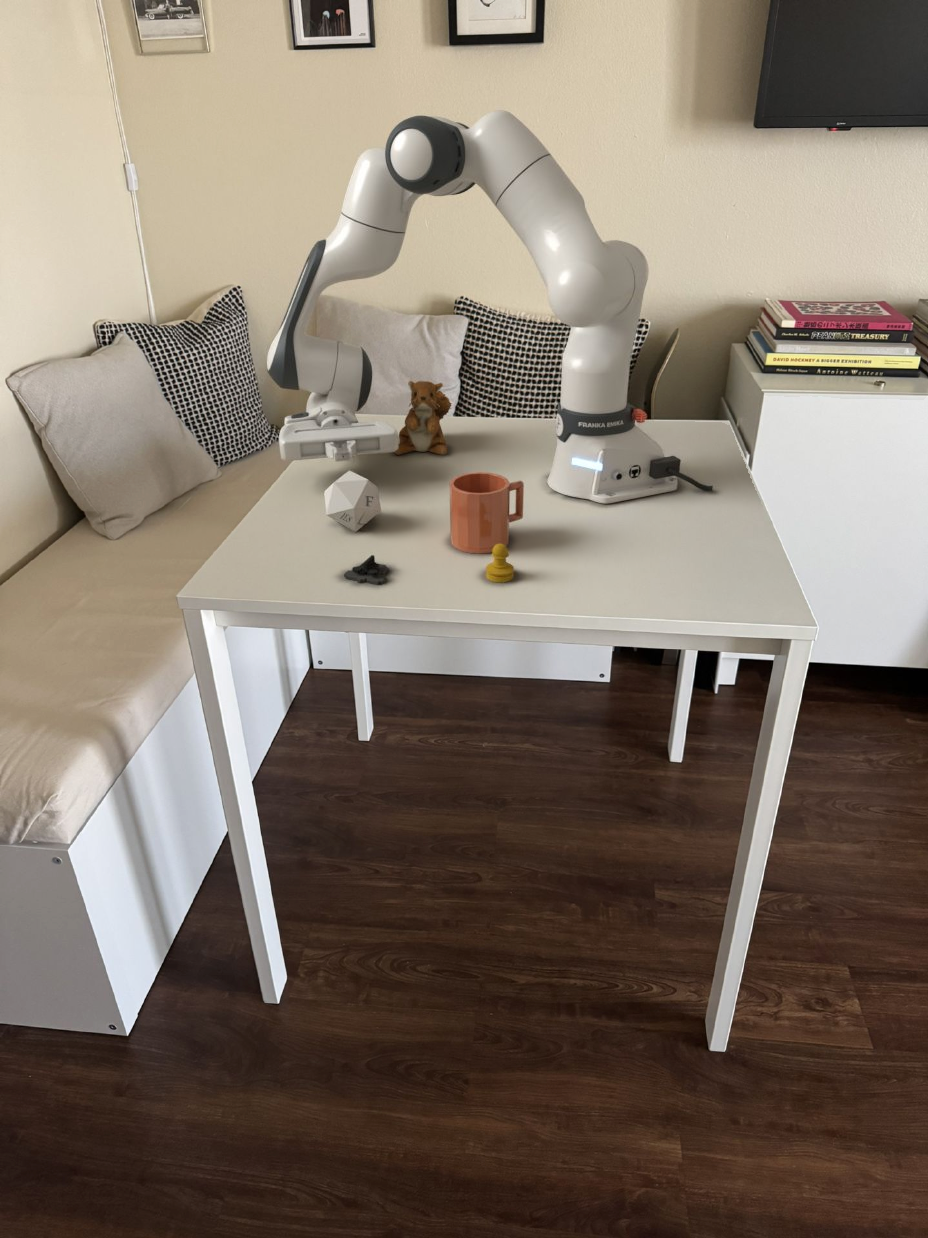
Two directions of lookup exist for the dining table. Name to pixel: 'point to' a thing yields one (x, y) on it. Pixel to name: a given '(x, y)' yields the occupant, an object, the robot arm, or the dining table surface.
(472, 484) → the mug
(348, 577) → the block figure
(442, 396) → the stuffed squirrel
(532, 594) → the dining table surface
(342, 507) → the die
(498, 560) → the chess piece
